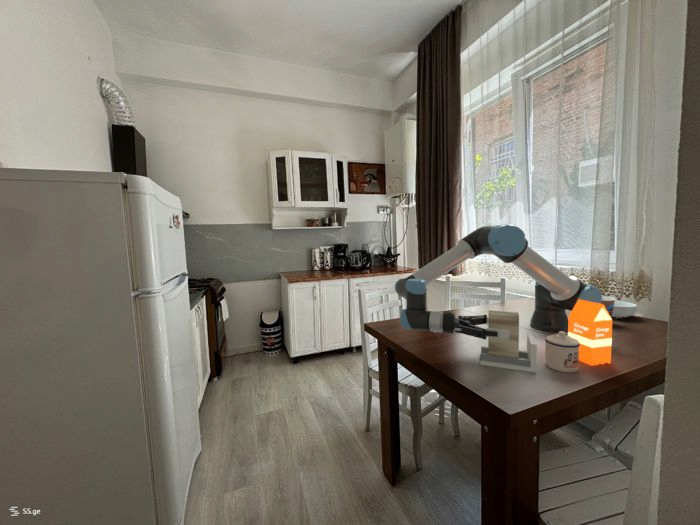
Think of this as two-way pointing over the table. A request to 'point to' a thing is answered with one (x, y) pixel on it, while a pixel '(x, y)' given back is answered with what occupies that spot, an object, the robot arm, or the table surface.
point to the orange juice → (591, 332)
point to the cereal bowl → (623, 309)
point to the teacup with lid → (562, 352)
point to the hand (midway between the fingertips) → (508, 328)
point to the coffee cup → (608, 304)
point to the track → (522, 363)
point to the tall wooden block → (507, 323)
